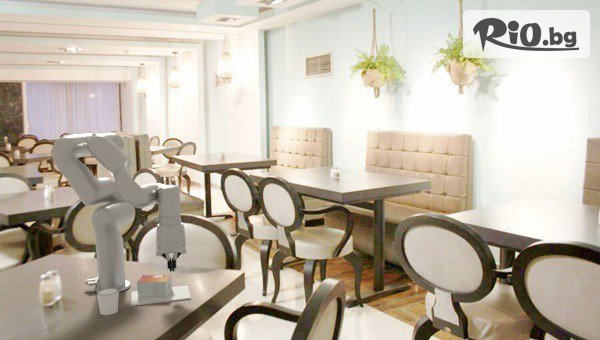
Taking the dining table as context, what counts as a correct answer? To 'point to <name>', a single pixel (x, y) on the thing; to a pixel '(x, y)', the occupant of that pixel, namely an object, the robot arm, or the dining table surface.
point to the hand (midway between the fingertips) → (172, 270)
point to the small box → (154, 285)
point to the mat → (174, 295)
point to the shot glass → (108, 301)
